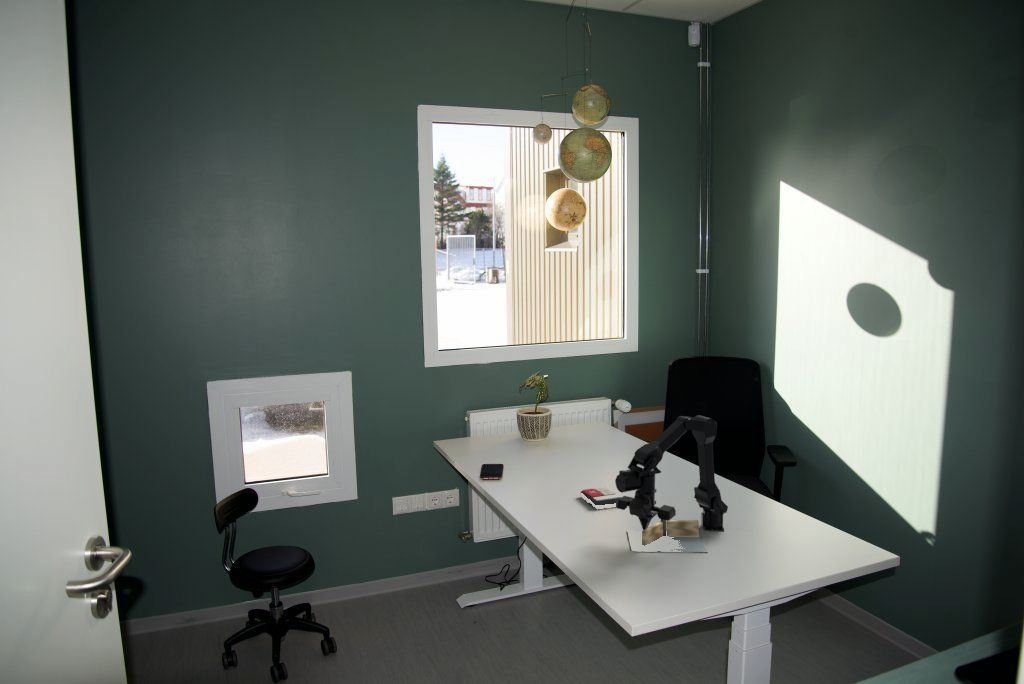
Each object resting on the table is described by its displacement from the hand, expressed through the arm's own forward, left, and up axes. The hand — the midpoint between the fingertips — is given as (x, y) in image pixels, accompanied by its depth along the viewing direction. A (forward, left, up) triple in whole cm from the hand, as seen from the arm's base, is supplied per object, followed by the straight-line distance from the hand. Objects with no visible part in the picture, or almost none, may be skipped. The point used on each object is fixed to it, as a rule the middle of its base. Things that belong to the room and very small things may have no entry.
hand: (645, 532), depth 219 cm
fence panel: (-3, -1, -3) cm, 4 cm away
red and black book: (+13, -39, -4) cm, 41 cm away
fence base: (-12, -6, -4) cm, 14 cm away
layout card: (-7, -1, -4) cm, 8 cm away
